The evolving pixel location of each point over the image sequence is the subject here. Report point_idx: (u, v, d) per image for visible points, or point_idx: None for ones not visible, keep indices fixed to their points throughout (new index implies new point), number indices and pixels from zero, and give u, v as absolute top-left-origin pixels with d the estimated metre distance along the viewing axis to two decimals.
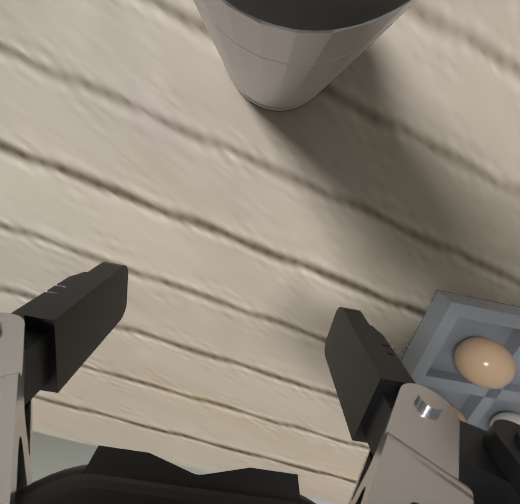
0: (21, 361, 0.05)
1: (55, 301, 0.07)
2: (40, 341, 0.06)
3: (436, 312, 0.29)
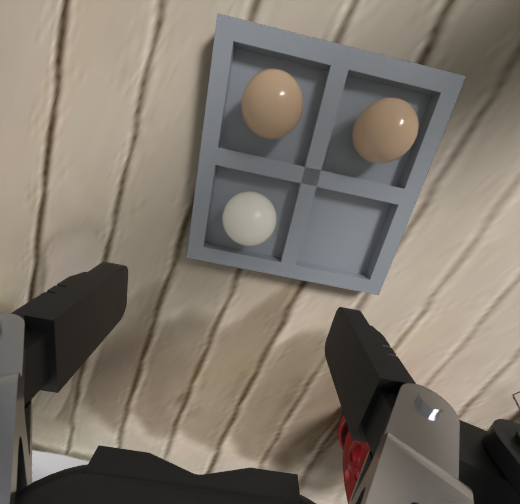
0: (21, 361, 0.05)
1: (55, 301, 0.07)
2: (40, 341, 0.06)
3: None
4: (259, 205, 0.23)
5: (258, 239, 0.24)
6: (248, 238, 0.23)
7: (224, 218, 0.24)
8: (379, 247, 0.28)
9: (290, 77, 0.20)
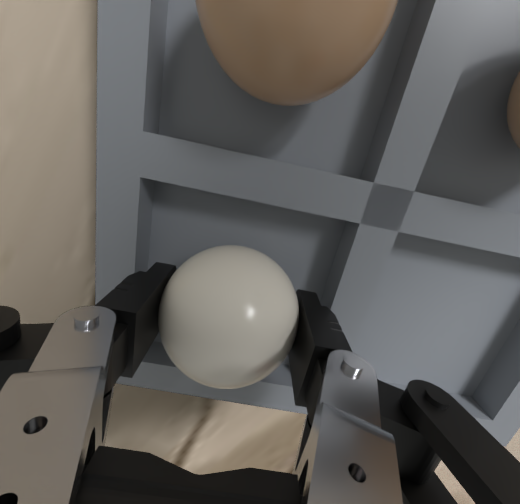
0: (107, 354, 0.05)
1: (130, 296, 0.08)
2: (124, 331, 0.07)
3: None
4: (253, 299, 0.08)
5: (251, 383, 0.09)
6: (224, 385, 0.08)
7: (159, 323, 0.09)
8: (519, 356, 0.13)
9: None
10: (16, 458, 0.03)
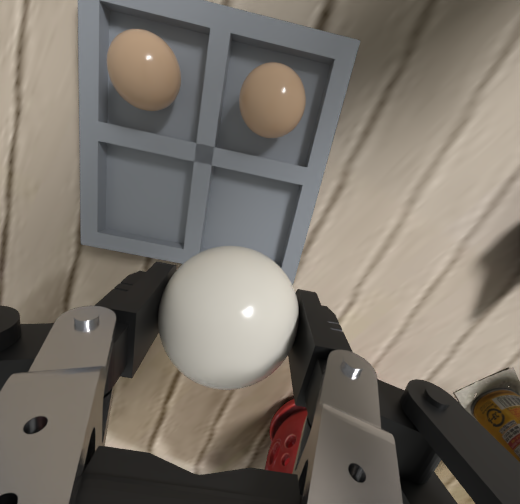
0: (107, 354, 0.05)
1: (130, 296, 0.08)
2: (125, 331, 0.07)
3: None
4: (253, 300, 0.08)
5: (250, 384, 0.09)
6: (223, 386, 0.08)
7: (159, 324, 0.09)
8: (289, 233, 0.26)
9: (153, 37, 0.18)
10: (16, 458, 0.03)
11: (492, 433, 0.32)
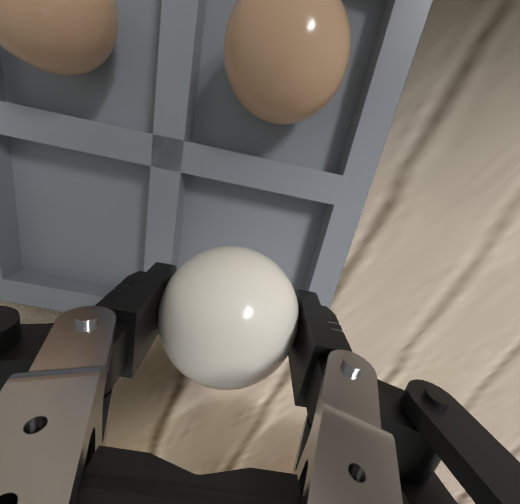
0: (107, 354, 0.05)
1: (130, 296, 0.08)
2: (124, 331, 0.07)
3: None
4: (253, 300, 0.08)
5: (250, 384, 0.09)
6: (223, 386, 0.08)
7: (158, 324, 0.09)
8: (309, 278, 0.16)
9: None
10: (16, 458, 0.03)
11: None
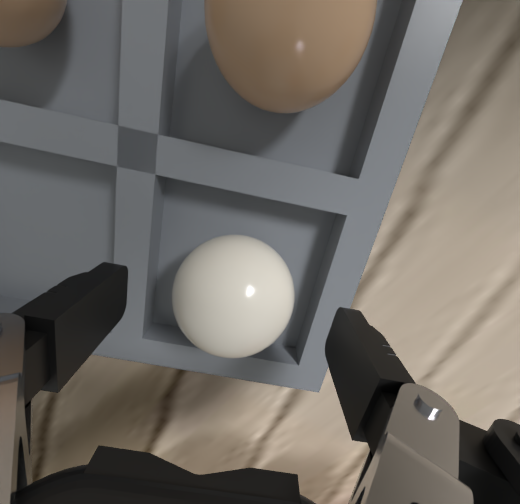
0: (21, 361, 0.05)
1: (55, 301, 0.07)
2: (40, 341, 0.06)
3: None
4: (254, 278, 0.09)
5: (252, 352, 0.10)
6: (229, 353, 0.10)
7: (173, 301, 0.10)
8: (315, 302, 0.13)
9: None
10: None
11: None
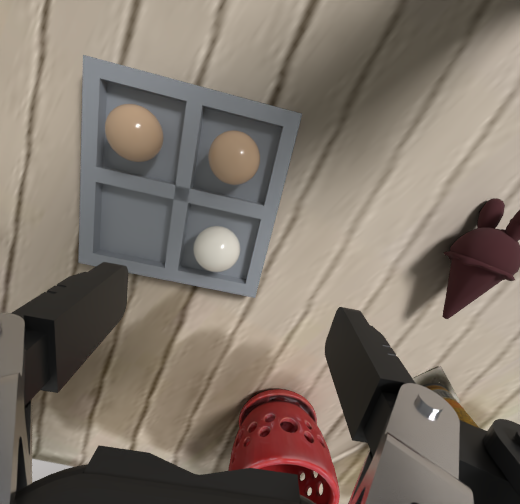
0: (21, 361, 0.05)
1: (55, 301, 0.07)
2: (40, 341, 0.06)
3: None
4: (223, 240, 0.27)
5: (222, 267, 0.28)
6: (214, 267, 0.28)
7: (194, 249, 0.28)
8: (252, 255, 0.31)
9: (141, 112, 0.24)
10: None
11: None
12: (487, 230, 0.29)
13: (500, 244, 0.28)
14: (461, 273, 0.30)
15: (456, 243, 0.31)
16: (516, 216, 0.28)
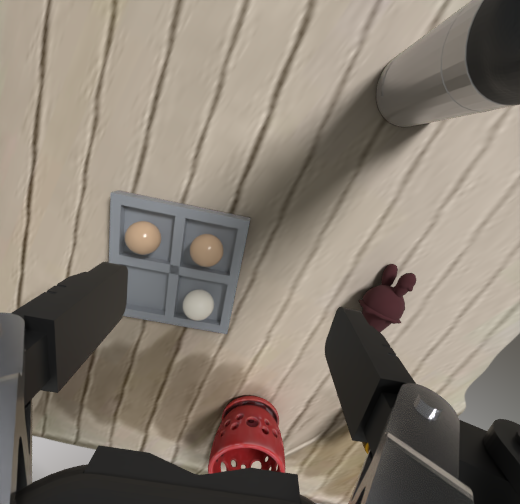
0: (21, 361, 0.05)
1: (55, 301, 0.07)
2: (40, 341, 0.06)
3: (237, 216, 0.41)
4: (200, 302, 0.42)
5: (201, 318, 0.43)
6: (195, 318, 0.42)
7: None
8: (223, 306, 0.46)
9: (147, 229, 0.38)
10: None
11: None
12: (382, 288, 0.43)
13: (387, 300, 0.42)
14: (366, 317, 0.44)
15: (365, 295, 0.45)
16: (398, 281, 0.42)
